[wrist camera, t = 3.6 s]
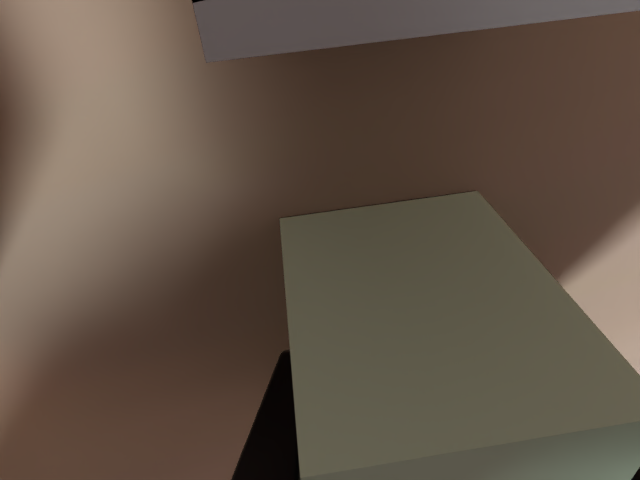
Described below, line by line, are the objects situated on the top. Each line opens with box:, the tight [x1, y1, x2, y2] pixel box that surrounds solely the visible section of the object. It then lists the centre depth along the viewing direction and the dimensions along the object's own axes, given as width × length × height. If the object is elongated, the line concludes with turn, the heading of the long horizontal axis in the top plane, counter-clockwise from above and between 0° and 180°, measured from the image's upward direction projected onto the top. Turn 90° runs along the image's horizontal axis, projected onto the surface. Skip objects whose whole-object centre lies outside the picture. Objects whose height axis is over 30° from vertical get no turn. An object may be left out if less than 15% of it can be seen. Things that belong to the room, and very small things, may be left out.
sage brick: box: [279, 191, 640, 480], centre depth 8 cm, size 6×4×5 cm, turn 5°
